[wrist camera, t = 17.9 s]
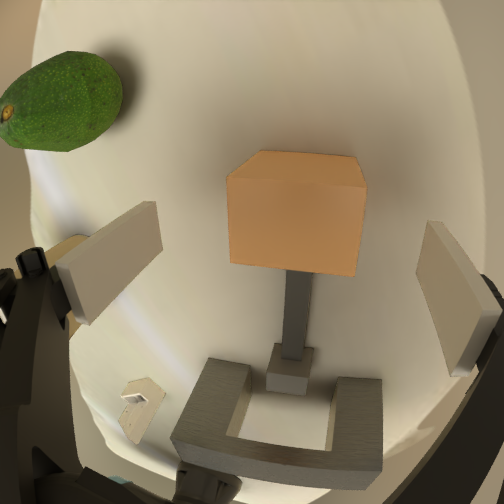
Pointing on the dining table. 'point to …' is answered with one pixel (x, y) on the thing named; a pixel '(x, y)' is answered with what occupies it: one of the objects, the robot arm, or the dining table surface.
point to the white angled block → (140, 407)
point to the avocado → (61, 103)
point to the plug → (296, 237)
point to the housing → (276, 456)
